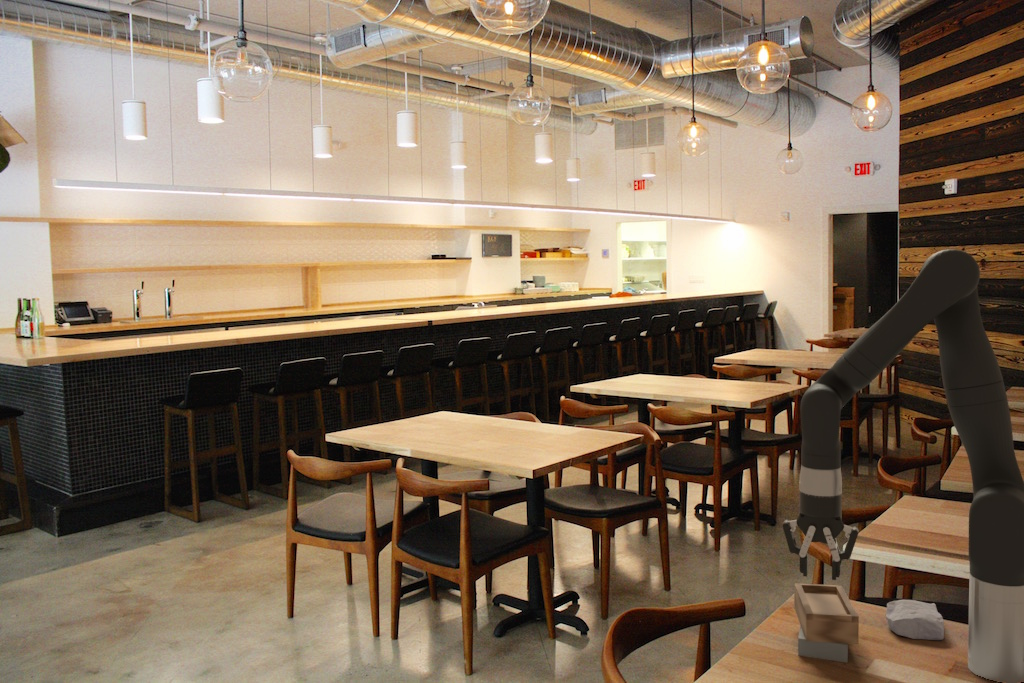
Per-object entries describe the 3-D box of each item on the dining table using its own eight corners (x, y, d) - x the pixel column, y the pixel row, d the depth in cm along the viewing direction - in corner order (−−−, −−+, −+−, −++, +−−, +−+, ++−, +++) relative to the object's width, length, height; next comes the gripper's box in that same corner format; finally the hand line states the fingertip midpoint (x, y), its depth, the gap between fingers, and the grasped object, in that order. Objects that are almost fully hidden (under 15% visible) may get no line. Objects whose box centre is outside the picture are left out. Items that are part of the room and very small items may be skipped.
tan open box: (841, 610, 161) (841, 585, 161) (858, 644, 147) (858, 616, 146) (794, 608, 163) (794, 583, 163) (806, 641, 149) (806, 613, 148)
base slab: (847, 633, 161) (847, 613, 160) (847, 666, 147) (847, 645, 146) (802, 626, 164) (802, 607, 164) (798, 659, 150) (798, 638, 150)
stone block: (893, 645, 157) (950, 641, 154) (888, 621, 157) (944, 616, 154) (884, 622, 168) (936, 618, 165) (879, 599, 168) (932, 595, 165)
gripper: (862, 488, 154) (860, 575, 155) (783, 481, 160) (782, 565, 161) (860, 498, 147) (859, 589, 148) (778, 490, 153) (778, 578, 154)
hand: (819, 576), depth 155 cm, fingers open, 4 cm apart
